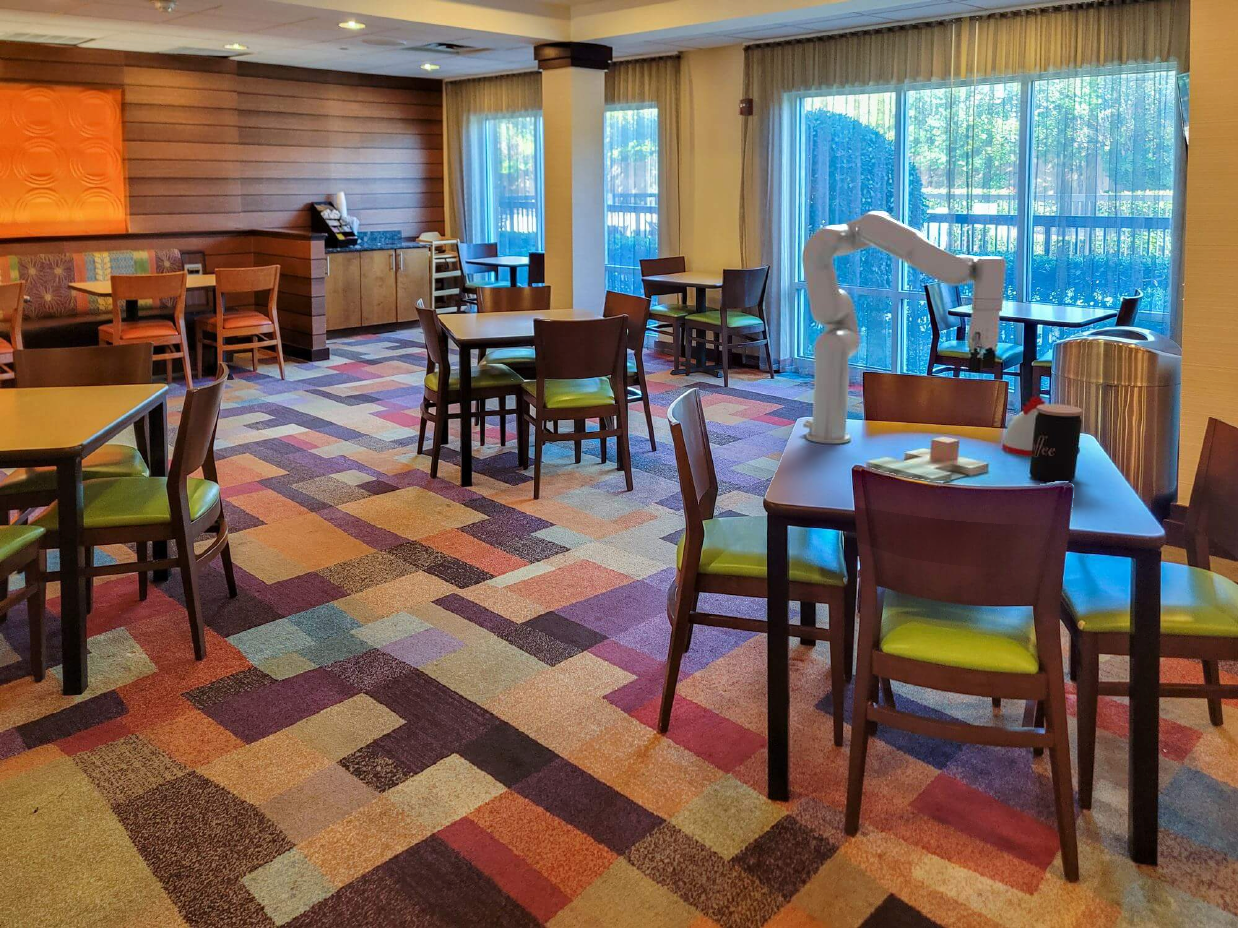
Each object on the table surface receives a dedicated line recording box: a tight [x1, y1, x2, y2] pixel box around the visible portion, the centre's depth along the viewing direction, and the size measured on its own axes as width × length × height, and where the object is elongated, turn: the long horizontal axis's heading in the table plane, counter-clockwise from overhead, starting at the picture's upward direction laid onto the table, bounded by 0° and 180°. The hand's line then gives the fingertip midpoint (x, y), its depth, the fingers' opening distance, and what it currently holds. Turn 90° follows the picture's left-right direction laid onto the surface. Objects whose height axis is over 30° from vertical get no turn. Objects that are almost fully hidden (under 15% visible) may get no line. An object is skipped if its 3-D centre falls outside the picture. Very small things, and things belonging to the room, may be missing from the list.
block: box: [930, 436, 960, 462], centre depth 274 cm, size 5×5×5 cm
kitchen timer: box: [1001, 396, 1046, 457], centre depth 291 cm, size 14×14×15 cm
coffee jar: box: [1028, 403, 1084, 484], centre depth 261 cm, size 11×11×18 cm
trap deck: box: [865, 447, 990, 482], centre depth 270 cm, size 20×24×2 cm
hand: (981, 370), depth 279 cm, fingers open, 9 cm apart
